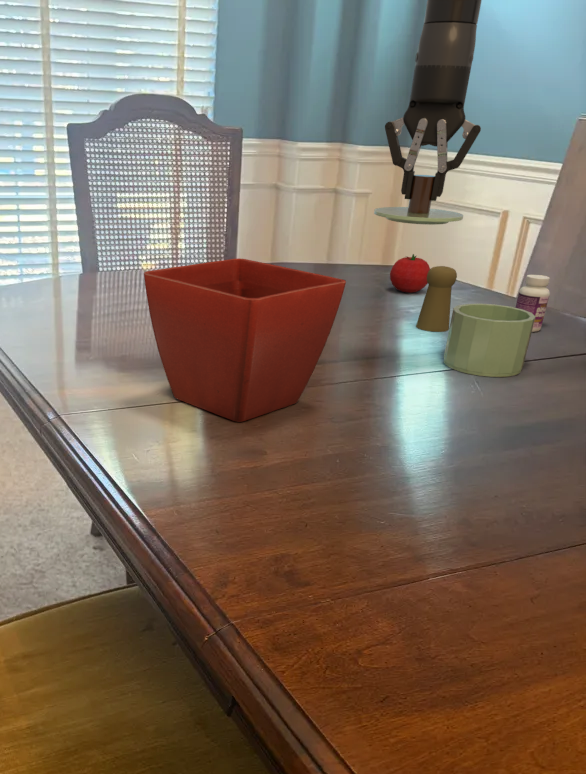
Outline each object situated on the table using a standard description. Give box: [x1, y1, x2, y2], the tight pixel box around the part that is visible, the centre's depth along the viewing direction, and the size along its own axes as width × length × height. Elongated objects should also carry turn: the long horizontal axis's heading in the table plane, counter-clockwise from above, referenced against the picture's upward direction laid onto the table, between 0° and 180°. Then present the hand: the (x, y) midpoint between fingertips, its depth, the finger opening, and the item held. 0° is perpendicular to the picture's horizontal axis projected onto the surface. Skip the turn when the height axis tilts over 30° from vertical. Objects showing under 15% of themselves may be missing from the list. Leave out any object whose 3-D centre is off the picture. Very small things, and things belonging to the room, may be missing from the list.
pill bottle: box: [514, 274, 551, 333], centre depth 144 cm, size 5×5×10 cm
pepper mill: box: [415, 265, 458, 333], centre depth 143 cm, size 6×6×11 cm
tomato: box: [389, 253, 431, 294], centre depth 171 cm, size 9×9×8 cm
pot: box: [443, 303, 535, 378], centre depth 122 cm, size 12×12×8 cm
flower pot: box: [143, 258, 347, 423], centre depth 102 cm, size 19×19×17 cm
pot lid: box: [373, 174, 464, 226], centre depth 115 cm, size 13×13×6 cm
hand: (420, 198), depth 115 cm, fingers closed on pot lid, 3 cm apart
